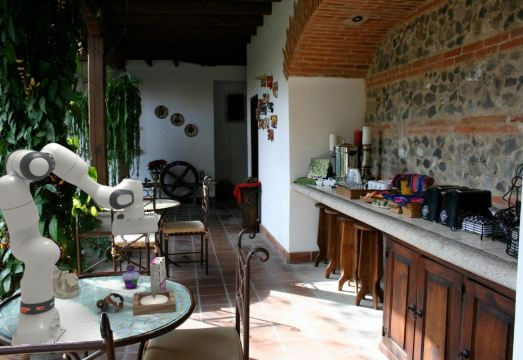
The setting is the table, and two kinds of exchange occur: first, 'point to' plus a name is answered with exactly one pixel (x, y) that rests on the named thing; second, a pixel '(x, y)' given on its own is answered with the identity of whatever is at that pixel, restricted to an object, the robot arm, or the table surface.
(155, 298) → the dial
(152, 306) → the square wooden tray
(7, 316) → the table surface
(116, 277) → the table surface
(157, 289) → the candy bar box
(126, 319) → the table surface
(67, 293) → the ceramic cottage
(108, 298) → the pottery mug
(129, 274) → the potion bottle
